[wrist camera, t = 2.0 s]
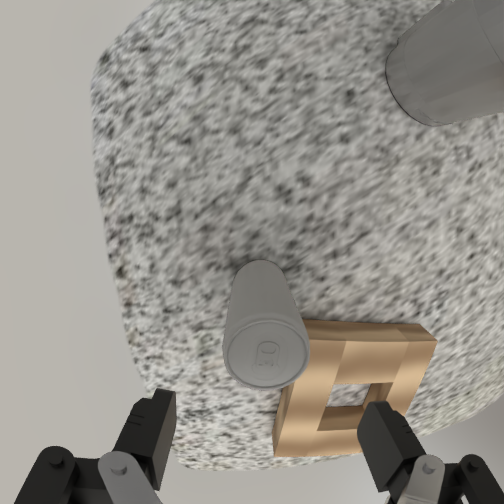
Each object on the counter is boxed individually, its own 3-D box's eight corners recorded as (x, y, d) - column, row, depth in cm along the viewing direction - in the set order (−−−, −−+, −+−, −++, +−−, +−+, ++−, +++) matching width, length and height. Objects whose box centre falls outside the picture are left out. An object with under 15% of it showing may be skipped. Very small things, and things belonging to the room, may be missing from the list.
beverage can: (230, 306, 27) (218, 389, 15) (235, 255, 26) (223, 313, 14) (282, 311, 27) (303, 394, 15) (290, 260, 26) (321, 320, 14)
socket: (297, 318, 27) (305, 339, 23) (419, 324, 28) (437, 340, 24) (271, 432, 31) (273, 456, 27) (375, 428, 31) (384, 449, 27)
